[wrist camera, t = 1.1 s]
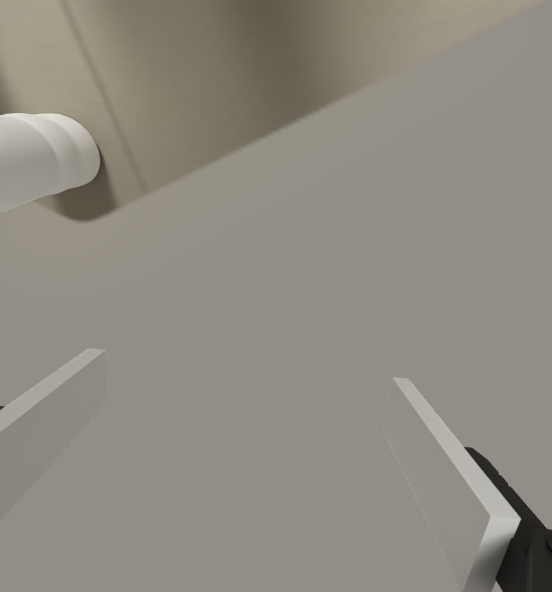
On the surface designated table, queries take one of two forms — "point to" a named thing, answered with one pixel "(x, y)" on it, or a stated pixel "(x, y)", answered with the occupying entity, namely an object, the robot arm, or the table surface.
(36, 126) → the water bottle
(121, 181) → the table surface
